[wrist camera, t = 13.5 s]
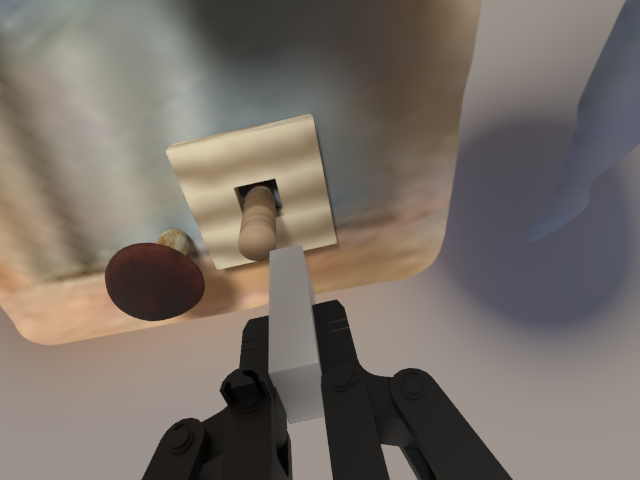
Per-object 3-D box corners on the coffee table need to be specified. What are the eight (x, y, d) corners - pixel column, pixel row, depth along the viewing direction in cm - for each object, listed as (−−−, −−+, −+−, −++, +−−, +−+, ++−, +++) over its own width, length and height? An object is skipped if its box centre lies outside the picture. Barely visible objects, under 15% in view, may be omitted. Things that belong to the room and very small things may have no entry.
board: (171, 144, 43) (165, 151, 41) (310, 113, 43) (313, 118, 41) (219, 258, 53) (217, 270, 50) (333, 233, 53) (336, 243, 50)
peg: (242, 182, 47) (232, 233, 35) (271, 176, 47) (271, 224, 35) (250, 209, 49) (244, 265, 37) (278, 202, 49) (280, 256, 37)
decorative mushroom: (161, 188, 46) (118, 247, 33) (230, 231, 51) (216, 298, 38) (122, 243, 50) (70, 316, 37) (190, 279, 54) (165, 355, 41)
